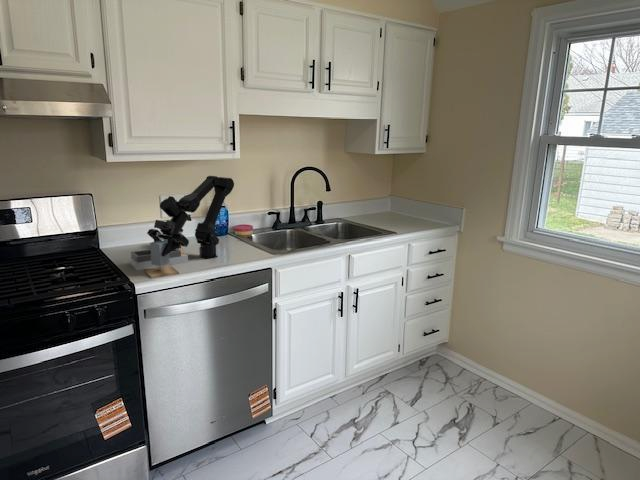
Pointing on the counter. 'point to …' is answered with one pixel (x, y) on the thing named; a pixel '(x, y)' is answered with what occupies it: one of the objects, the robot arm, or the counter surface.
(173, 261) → the power strip
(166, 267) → the walnut board
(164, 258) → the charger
